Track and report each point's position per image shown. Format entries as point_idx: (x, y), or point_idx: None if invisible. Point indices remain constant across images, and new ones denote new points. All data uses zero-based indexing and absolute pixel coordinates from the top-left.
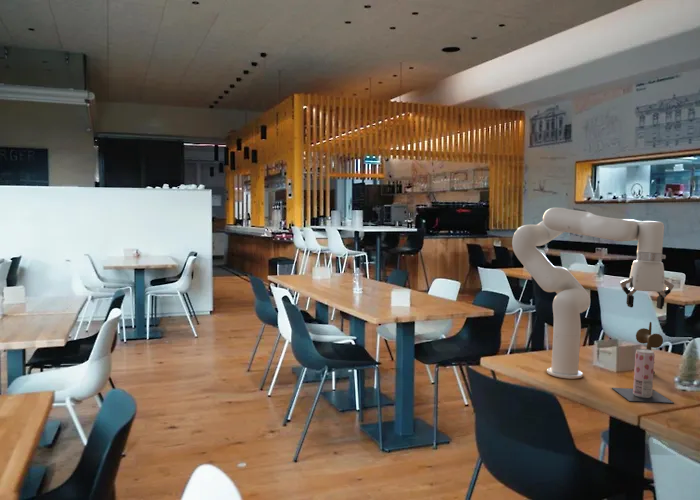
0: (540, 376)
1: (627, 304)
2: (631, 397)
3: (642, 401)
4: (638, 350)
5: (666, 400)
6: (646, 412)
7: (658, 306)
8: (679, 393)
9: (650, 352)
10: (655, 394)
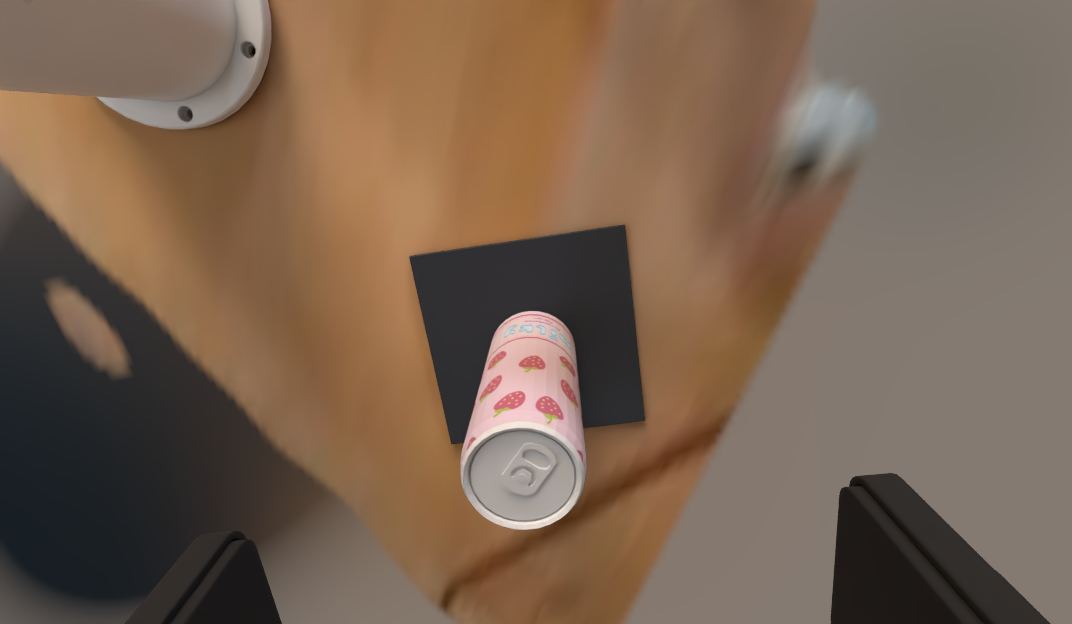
0: (36, 114)
1: (188, 552)
2: (472, 395)
3: None
4: (478, 463)
5: (623, 397)
6: (488, 550)
7: (852, 592)
8: (748, 241)
9: (552, 500)
10: (604, 316)
